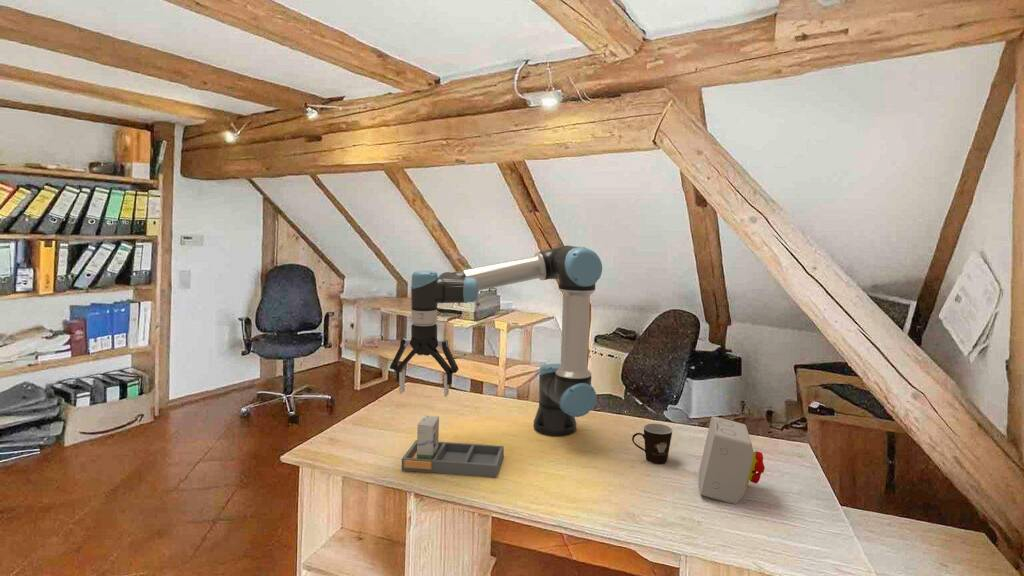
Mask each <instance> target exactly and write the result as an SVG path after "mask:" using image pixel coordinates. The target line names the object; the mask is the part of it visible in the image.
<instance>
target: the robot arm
mask: <svg viewBox="0 0 1024 576" xmlns="http://www.w3.org/2000/svg"><path fill="white" fill-rule="evenodd" d="M602 273H603V264H602V261H601V258H600V257H599V255H598V254H597V253H596V252H595V251H594V250H592V249H591V248H590V249H589V248H587V247H584V246H574V245H573V246H572V245H561V246H557V247H554V248H549V249H547V250H546V249H545V250H541V251H537V252H535V254H534V255H533V256H529V257H528V256H527V257H523V258H518V259H513V260H509V261H503V262H497V263H493V264H488V265H483V266H478V267H472V268H469V269H468V268H467V269H463V270H459V271H453V272H450V271H444V272H442V273H440V274H439V275H438V272H437V271H434V270H416V271H414V272H413V273H412V274H411V284H410V285H411V286H410V293H411V294H410V295H411V297H410V300H411V303H410V304H411V307H410V308H411V309H410V310H411V311H410V312H411V314H410V315H411V317H410V318H411V323H412V324H411V326H410V327H411V330H410V331H411V335H410V336H411V338H410V339H407V337H403V338H402V339H401V340H400V343H399V344H400V345H399V347H398V349H397V352H396V354H395V356H394V358H393V360H392V361H391V364H390V366H389V369H390V370H393V371H395V372H396V374H395V375H396V377H395V378H396V382H398V383H399V387H398V388H399V394H400V395H401V394H403V393H404V392H406V390H405V389H406V387H405V386H406V385H405V384H406V383H405V382H406V381H405V380H406V376H405V375H406V372H405V371H406V370H405V369H403V368H404V367H405V366H406V365H407V364H408V363H409V362H410V360H412V358H413V357H414V356H415V355H418V356H431V357H432V358H433V359H434V360H435V361H436V362H437V363H438V365H439V366H440V367H441V368H442V370H443V371H444V372H445V374H444V376H443V377H444V378H443V381H444V382H443V383H444V384H443V397H448V395H450V390H449V389H450V386H451V385H452V384H453V374H456V373H457V372H458V371H459V367H458V365H457V363H456V360H455V358H454V356H453V354H452V352H451V350H450V347H449V341H448V340H447V339H445V340H440V341H439V339H438V324H437V322H438V304H457V303H458V304H461V303H462V304H463V303H464V304H468V303H475V302H476V301H477V299H478V297H479V291H483V290H488V289H494V288H498V287H502V286H503V287H504V286H508V285H513V284H517V283H522V282H527V281H531V280H536V279H539V280H540V281H546V280H558V290H559V291H560V292H561V293H562V316H561V340H560V343H561V345H560V363H549V364H548V363H546V364H543V365H541V366H540V369H539V374H538V376H539V377H538V378H539V380H538V381H539V382H538V383H539V384H538V385H539V387H538V388H539V389H538V391H539V392H538V404H539V405H538V408H537V410H536V414H535V417H534V419H533V429H534V431H535V432H536V433H538V434H540V435H544V436H549V437H566V436H570V435H572V434H574V433H576V432H577V419H576V418H579V417H580V418H582V417H585V416H586V415H587V414H589V412H590V411H592V410H593V409H594V407H595V405H596V403H597V392H596V390H595V389H594V387H593V386H592V372H591V371H590V370H589V369H588V353H589V330H590V329H589V328H590V326H589V325H590V306H591V305H590V304H591V295H592V294H593V293H594V292H595V291H596V283H597V282H598V280H599V279H600V278H601V276H602ZM409 345H410V346H411V348H412V350H411V351H410V352H409V353H408V354H407V355H406V357H405V358H404V359H403V360H402V361H401V363H400V364H399V362H400V360H401V358H402V356H403V354H404V352H405V349H407V347H408V346H409ZM438 346H439V348H440V349H442V352H443V353H444V357H445V358H446V360H447V361H446V360H445V359H444V358H443V356H442V355H441V354H440V352H439V350H438V349H437V347H438Z"/></svg>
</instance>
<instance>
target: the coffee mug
mask: <svg viewBox="0 0 1024 576" xmlns="http://www.w3.org/2000/svg"><path fill="white" fill-rule="evenodd" d="M673 430H674V429H673V428H672V427H671V426H669V425H666V424H662V423H657V422H655V423H647V424H645V425H644V426H643V433H642V432H637V433H636V432H635V433H634V434H633V435H632V437H631V441H632V443H633V444H634V446H636V447H637V448H638V449H640V450H641V451H644V452H645V461H647V462H648V463H650V464H656V465H662V464H663V465H664V464H666V463H667V462H668V457H669V451H670V446H671V441H672V435H673V432H674V431H673ZM636 436H641V437H642V438H643V439H644V448H643V447H642V446H640V445H639V444H637V443H636V442H635V437H636Z"/></svg>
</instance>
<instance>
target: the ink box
mask: <svg viewBox="0 0 1024 576" xmlns="http://www.w3.org/2000/svg"><path fill="white" fill-rule="evenodd" d="M439 428H440V416H437V415H436V416H435V415H423V416H422V418H420V420H419V422H418V423H417V428H416V429H417V432H416V434H417V436H416V440H417V459H431V460H433V458H434V457H435V455H436V453H437V452H438V443H439V442H440V440H439V439H440V438H439V436H440V435H439V434H440V433H439V431H440V429H439Z"/></svg>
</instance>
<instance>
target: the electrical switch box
mask: <svg viewBox="0 0 1024 576" xmlns="http://www.w3.org/2000/svg"><path fill="white" fill-rule="evenodd" d="M764 464H765V463H764V454H763V452H761V451H758V450H755V451H754V448H753V443H752V439H751V437H750V434H749V431H748V427H747V425H746V424H744V423H741V422H738V421H733V420H731V419H726V418H722V417H718V416H713V415H711V417H710V422H709V427H708V430H707V435H706V438H705V444H704V448H703V452H702V457H701V461H700V465H699V470H698V491H699V494H700V496H704V497H708V498H710V499H715V500H718V501H721V502H725V503H729V504H734V505H737V504H739V502H740V500H741V499H742V498H743V497H744V495H745V492H746V489H748V488H749V483H753V484H758V482H760V479H761V476H762V474H764V472H765V469H766V467H765V465H764Z"/></svg>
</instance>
